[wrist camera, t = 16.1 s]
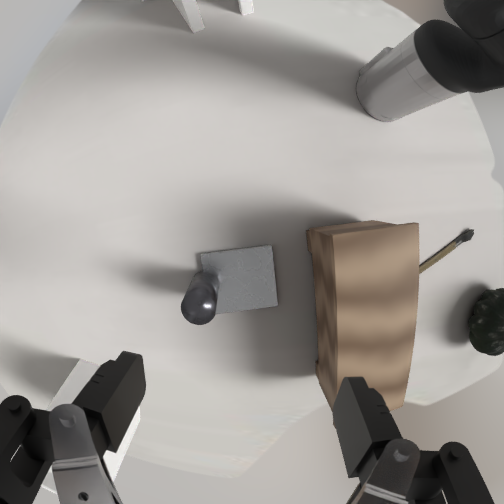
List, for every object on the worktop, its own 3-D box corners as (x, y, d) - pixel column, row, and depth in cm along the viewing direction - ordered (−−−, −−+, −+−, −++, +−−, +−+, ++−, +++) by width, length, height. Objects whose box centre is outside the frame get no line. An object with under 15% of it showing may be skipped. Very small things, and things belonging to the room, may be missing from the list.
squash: (498, 357, 44) (542, 336, 31) (461, 367, 43) (511, 346, 31) (488, 304, 51) (527, 275, 39) (451, 306, 51) (494, 274, 38)
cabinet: (302, 224, 41) (332, 234, 28) (369, 215, 41) (418, 223, 28) (313, 379, 46) (335, 428, 33) (370, 365, 46) (402, 406, 33)
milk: (139, 376, 44) (89, 492, 18) (140, 419, 45) (105, 524, 20) (80, 358, 42) (8, 450, 17) (86, 402, 44) (34, 492, 19)
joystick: (187, 255, 40) (173, 272, 31) (270, 244, 41) (283, 258, 31) (197, 313, 42) (188, 344, 32) (276, 303, 43) (289, 332, 33)
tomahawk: (398, 304, 46) (401, 306, 44) (391, 272, 44) (394, 275, 43) (473, 253, 45) (476, 255, 44) (469, 224, 43) (473, 225, 42)
